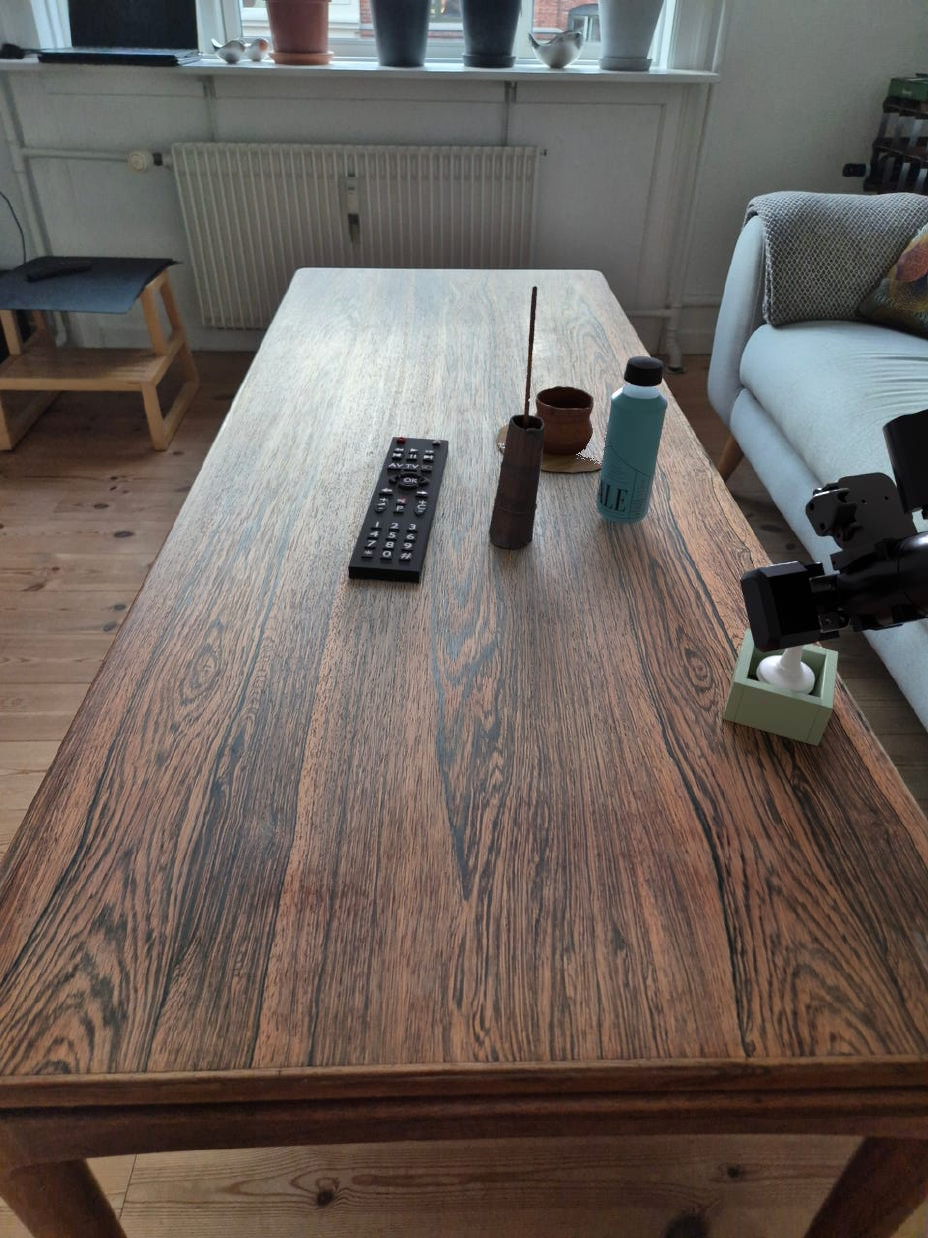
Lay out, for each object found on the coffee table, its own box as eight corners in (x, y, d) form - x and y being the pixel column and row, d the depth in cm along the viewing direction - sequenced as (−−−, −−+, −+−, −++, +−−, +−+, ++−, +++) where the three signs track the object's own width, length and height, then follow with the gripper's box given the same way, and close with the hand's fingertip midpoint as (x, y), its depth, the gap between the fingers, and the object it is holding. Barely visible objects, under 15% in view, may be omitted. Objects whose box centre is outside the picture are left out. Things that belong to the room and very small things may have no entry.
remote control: (448, 450, 116) (448, 436, 114) (419, 583, 90) (419, 567, 89) (393, 446, 116) (393, 433, 115) (348, 578, 91) (347, 562, 89)
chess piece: (825, 691, 74) (860, 598, 68) (776, 701, 72) (808, 607, 66) (792, 656, 77) (823, 566, 71) (745, 665, 76) (772, 574, 70)
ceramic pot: (635, 473, 112) (644, 424, 107) (503, 474, 110) (506, 424, 106) (608, 416, 126) (614, 370, 121) (490, 416, 125) (493, 370, 120)
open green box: (824, 688, 79) (838, 651, 76) (817, 746, 73) (833, 709, 70) (735, 664, 81) (746, 628, 78) (722, 719, 75) (733, 681, 72)
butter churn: (552, 569, 93) (581, 314, 76) (467, 559, 94) (477, 305, 77) (557, 526, 100) (586, 284, 83) (479, 518, 101) (490, 277, 84)
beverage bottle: (650, 513, 104) (680, 353, 91) (642, 540, 99) (673, 375, 86) (598, 503, 105) (620, 345, 93) (587, 529, 100) (610, 366, 88)
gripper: (1013, 445, 60) (864, 507, 75) (788, 474, 56) (678, 533, 71) (1054, 597, 59) (895, 628, 74) (827, 640, 54) (706, 664, 69)
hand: (795, 610), depth 72 cm, fingers closed on chess piece
